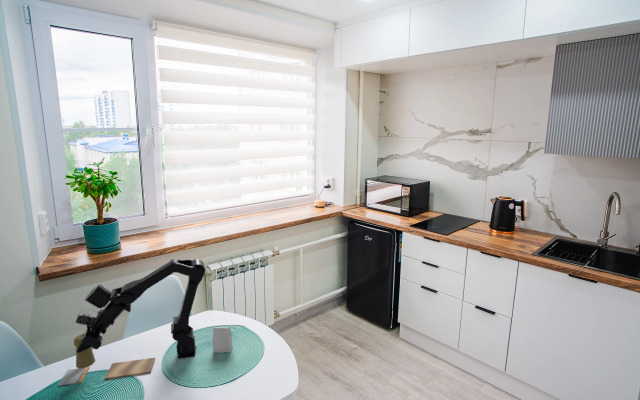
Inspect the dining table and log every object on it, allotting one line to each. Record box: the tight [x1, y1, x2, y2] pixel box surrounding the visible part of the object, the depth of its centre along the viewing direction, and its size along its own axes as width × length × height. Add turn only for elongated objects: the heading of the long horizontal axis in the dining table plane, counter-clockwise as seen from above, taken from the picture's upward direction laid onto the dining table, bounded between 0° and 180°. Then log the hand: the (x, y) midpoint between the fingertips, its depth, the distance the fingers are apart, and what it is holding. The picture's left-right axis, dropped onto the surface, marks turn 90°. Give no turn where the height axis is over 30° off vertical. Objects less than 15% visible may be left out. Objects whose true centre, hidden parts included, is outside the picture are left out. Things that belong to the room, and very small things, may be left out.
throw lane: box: [57, 357, 156, 387], centre depth 136 cm, size 31×8×1 cm, turn 103°
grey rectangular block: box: [212, 326, 233, 353], centre depth 149 cm, size 4×7×10 cm, turn 88°
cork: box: [73, 333, 96, 369], centre depth 132 cm, size 6×6×11 cm
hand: (78, 347), depth 131 cm, fingers closed on cork, 5 cm apart
